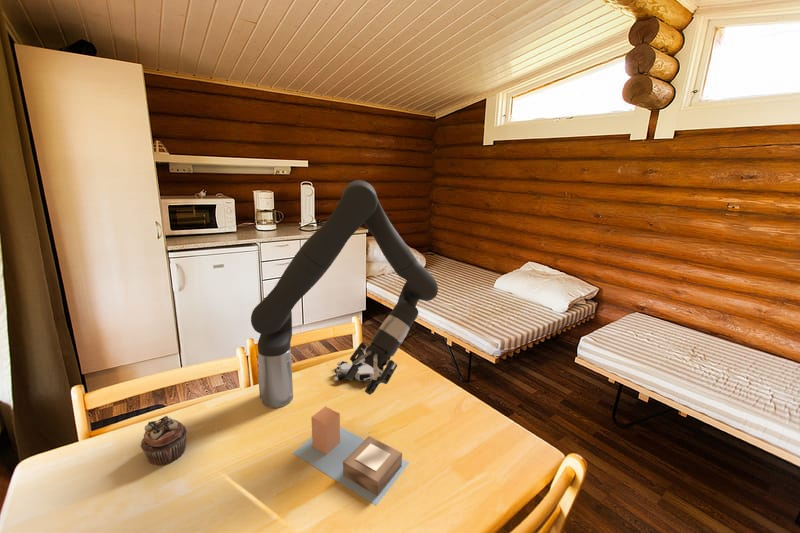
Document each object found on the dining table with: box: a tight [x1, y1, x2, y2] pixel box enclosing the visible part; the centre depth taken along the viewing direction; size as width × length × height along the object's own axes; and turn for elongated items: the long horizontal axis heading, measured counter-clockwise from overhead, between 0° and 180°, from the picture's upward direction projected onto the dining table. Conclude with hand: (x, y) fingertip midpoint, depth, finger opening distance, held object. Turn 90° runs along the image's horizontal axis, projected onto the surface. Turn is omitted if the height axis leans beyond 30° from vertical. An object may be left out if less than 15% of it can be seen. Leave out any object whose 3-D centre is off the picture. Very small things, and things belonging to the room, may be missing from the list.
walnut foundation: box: [343, 435, 403, 496], centre depth 86 cm, size 10×10×4 cm
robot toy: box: [332, 361, 374, 382], centre depth 126 cm, size 12×4×15 cm
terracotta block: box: [311, 405, 341, 455], centre depth 93 cm, size 5×5×9 cm
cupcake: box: [140, 415, 188, 467], centre depth 89 cm, size 10×10×10 cm
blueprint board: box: [292, 426, 410, 506], centre depth 90 cm, size 26×14×1 cm, turn 58°
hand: (357, 385), depth 97 cm, fingers open, 8 cm apart
